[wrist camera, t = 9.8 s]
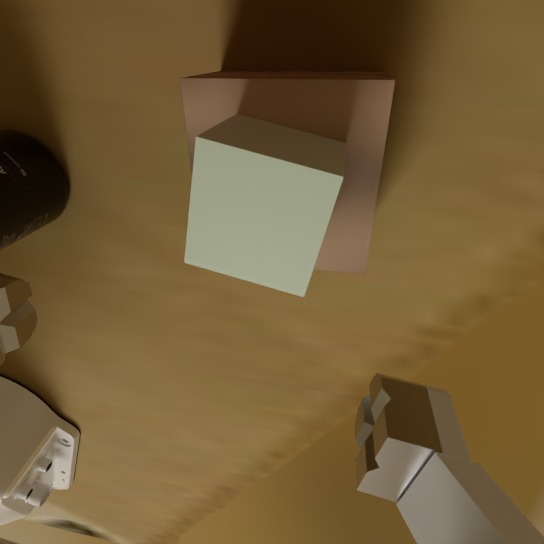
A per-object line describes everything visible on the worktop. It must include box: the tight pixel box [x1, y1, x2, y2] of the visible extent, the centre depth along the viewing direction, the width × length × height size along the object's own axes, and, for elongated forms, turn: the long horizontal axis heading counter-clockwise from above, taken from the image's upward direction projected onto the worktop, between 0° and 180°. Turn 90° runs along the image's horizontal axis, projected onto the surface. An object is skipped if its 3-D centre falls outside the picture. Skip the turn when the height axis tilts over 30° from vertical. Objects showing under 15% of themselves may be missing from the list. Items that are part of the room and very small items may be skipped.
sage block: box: [184, 114, 346, 297], centre depth 15 cm, size 5×5×5 cm
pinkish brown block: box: [180, 71, 395, 274], centre depth 20 cm, size 9×9×6 cm
